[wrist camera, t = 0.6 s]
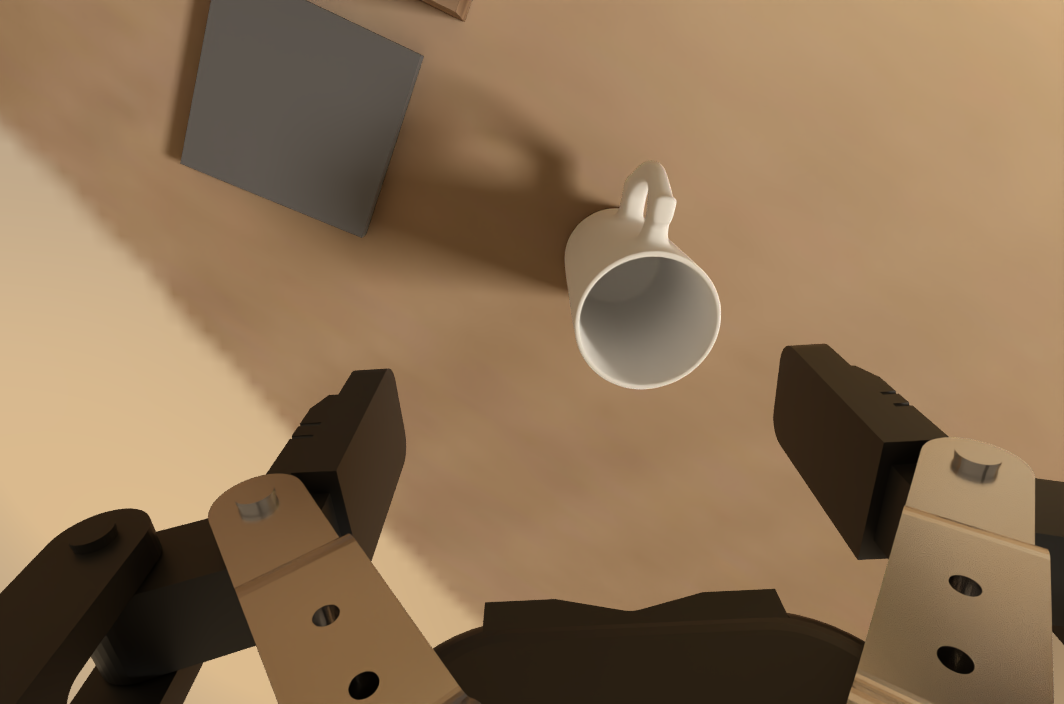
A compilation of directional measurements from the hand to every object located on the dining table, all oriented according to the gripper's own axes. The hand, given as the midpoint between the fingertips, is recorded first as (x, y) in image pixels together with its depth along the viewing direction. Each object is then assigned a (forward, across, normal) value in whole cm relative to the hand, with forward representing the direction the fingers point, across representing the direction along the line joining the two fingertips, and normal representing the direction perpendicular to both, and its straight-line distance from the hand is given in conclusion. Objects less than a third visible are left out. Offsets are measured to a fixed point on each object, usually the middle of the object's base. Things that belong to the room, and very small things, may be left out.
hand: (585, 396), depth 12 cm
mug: (+26, -4, +3) cm, 27 cm away
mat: (+26, +14, -5) cm, 30 cm away
